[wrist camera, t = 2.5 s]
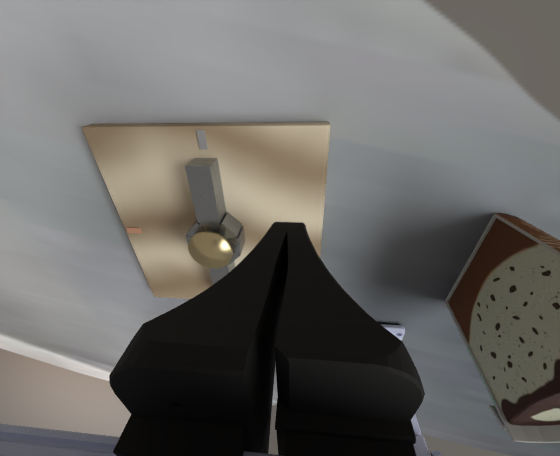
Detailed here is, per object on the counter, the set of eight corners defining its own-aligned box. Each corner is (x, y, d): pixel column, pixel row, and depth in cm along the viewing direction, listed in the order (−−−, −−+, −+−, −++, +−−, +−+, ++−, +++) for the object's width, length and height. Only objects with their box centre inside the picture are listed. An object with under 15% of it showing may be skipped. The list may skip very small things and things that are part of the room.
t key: (251, 287, 23) (247, 301, 22) (209, 285, 23) (203, 298, 22) (235, 158, 17) (228, 166, 15) (177, 158, 17) (165, 165, 16)
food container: (506, 317, 24) (616, 457, 15) (438, 311, 24) (508, 444, 16) (602, 199, 17) (893, 333, 8) (504, 193, 17) (690, 315, 9)
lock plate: (315, 298, 24) (316, 328, 22) (159, 289, 26) (140, 317, 23) (329, 122, 16) (333, 134, 13) (92, 124, 17) (49, 135, 14)
